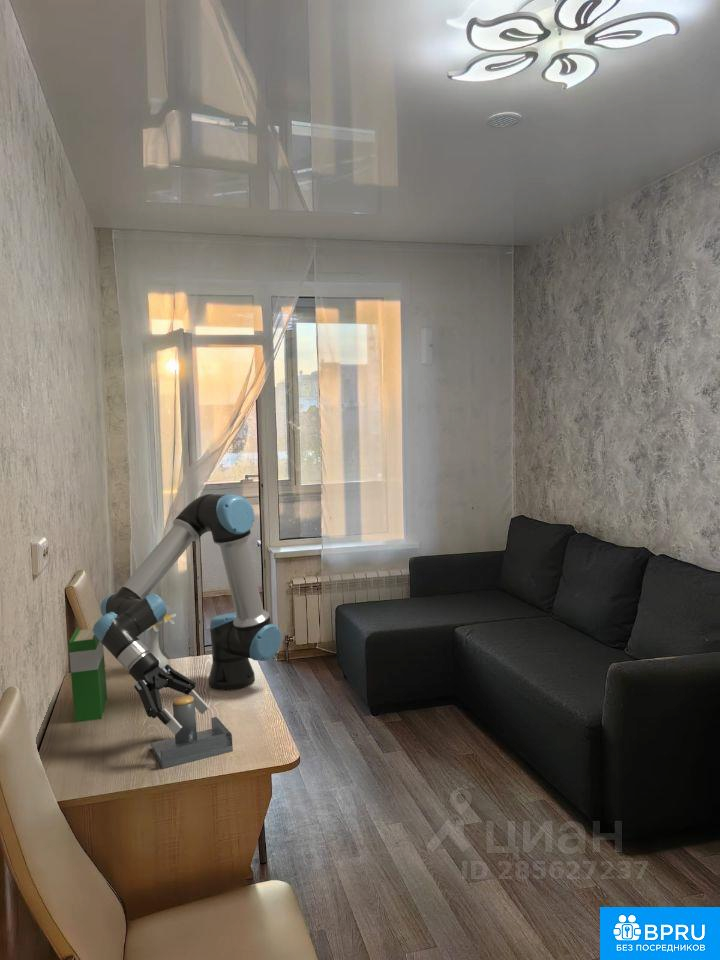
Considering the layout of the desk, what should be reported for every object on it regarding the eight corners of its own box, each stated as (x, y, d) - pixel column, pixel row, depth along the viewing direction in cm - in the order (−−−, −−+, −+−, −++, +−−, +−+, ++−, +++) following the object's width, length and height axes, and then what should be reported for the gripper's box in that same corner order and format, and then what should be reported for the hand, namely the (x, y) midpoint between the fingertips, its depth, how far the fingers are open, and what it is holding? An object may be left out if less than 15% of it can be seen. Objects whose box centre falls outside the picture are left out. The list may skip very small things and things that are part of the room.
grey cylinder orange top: (194, 737, 197) (191, 693, 196) (199, 744, 192) (196, 700, 191) (173, 742, 194) (170, 698, 194) (178, 750, 189) (175, 704, 189)
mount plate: (217, 732, 203) (216, 716, 203) (232, 751, 191) (231, 734, 190) (151, 748, 195) (150, 732, 195) (162, 768, 183) (161, 751, 182)
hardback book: (82, 702, 234) (76, 627, 232) (107, 698, 235) (101, 625, 234) (74, 722, 217) (68, 642, 215) (101, 718, 218) (95, 639, 217)
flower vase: (127, 673, 261) (122, 607, 259) (177, 665, 267) (173, 600, 266) (129, 683, 249) (124, 614, 248) (182, 674, 256) (177, 607, 254)
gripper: (157, 656, 209) (208, 711, 205) (101, 687, 185) (157, 749, 181) (172, 639, 207) (223, 694, 203) (118, 667, 183) (174, 730, 179)
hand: (192, 720), depth 192 cm, fingers open, 13 cm apart
